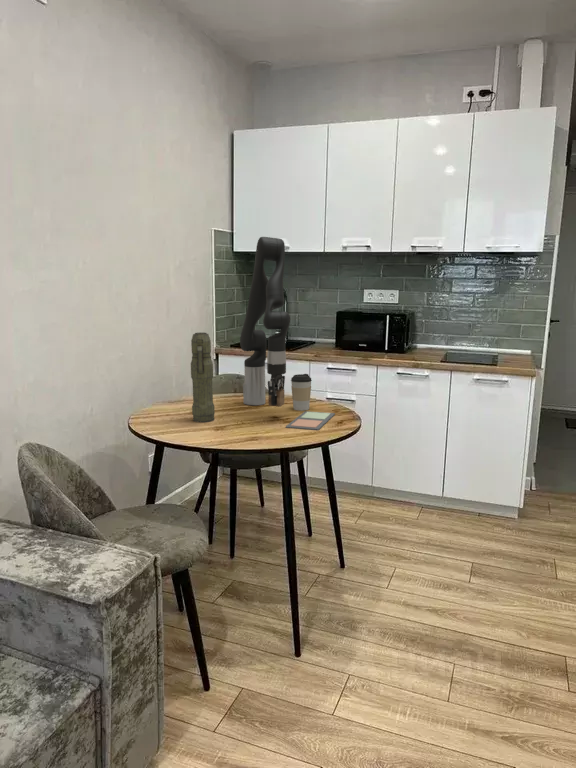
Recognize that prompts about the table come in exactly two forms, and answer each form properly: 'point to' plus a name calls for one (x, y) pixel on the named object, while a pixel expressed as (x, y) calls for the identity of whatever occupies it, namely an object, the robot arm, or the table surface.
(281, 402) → the walnut block
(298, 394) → the coffee cup
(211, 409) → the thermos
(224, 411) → the table surface
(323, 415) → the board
